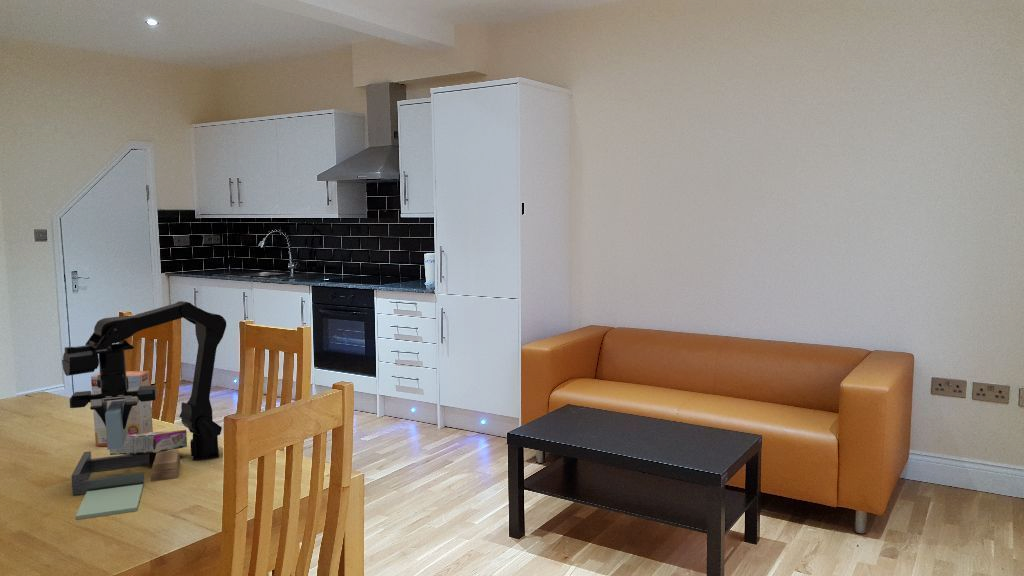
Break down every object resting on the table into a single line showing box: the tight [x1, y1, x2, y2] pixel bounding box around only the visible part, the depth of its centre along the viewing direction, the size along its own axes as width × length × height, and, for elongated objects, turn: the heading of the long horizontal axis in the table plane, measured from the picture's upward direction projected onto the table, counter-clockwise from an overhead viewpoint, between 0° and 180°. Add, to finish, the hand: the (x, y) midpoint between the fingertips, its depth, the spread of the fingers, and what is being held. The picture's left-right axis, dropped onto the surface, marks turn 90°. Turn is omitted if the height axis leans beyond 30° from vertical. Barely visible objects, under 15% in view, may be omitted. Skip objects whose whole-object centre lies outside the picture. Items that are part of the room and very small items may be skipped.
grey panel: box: [105, 400, 127, 451], centre depth 181 cm, size 3×12×9 cm, turn 22°
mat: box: [75, 484, 144, 520], centre depth 167 cm, size 12×15×1 cm
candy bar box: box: [109, 429, 188, 456], centre depth 196 cm, size 11×5×16 cm
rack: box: [70, 451, 151, 497], centre depth 182 cm, size 15×18×5 cm
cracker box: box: [90, 370, 154, 447], centre depth 208 cm, size 14×6×21 cm, turn 92°
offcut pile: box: [150, 449, 181, 482], centre depth 186 cm, size 6×12×4 cm, turn 22°
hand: (116, 429), depth 181 cm, fingers closed on grey panel, 3 cm apart
